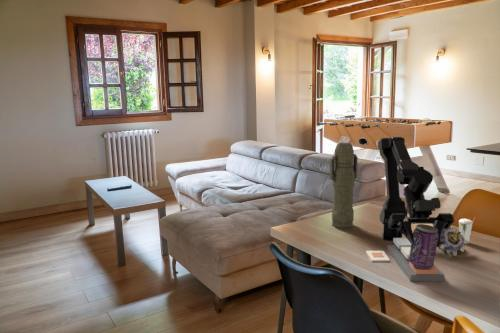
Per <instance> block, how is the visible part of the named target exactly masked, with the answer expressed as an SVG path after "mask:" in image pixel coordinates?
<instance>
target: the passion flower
mask: <svg viewBox="0 0 500 333" xmlns="http://www.w3.org/2000/svg"><path fill="white" fill-rule="evenodd" d="M463 236H464V234H462V233H461V232H459V229H457V226H454V227H451V226H450V227H449V228H447V229H443V230H442V231H441V237H440V244H439V247H437V248H438V249H439V250H442V249H444V252H445V254H446V255H449V254H450V255H451V256H452V257H454V258H455V257H457V255H458V251H460V252H462V253H464V252H465V244H464V243H467V242H468V240H466V239H464V237H463Z"/></svg>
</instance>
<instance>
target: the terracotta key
mask: <svg viewBox="0 0 500 333" xmlns="http://www.w3.org/2000/svg"><path fill="white" fill-rule="evenodd" d="M409 266H410V267H411V268H412V270H413V271H414V272H415V273H416V274H438V272H439V270H440V269H439V268H438V269H439V270H438V269H437V268H436V267H435V266H434V265H433V267H430V268H419V267H416V266H414V265H413V264H412V263H410V262H409Z"/></svg>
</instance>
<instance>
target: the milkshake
mask: <svg viewBox="0 0 500 333" xmlns="http://www.w3.org/2000/svg"><path fill="white" fill-rule="evenodd" d="M475 219H476V217H473V220H471V219H469V218H460V219H459V220H458V232H461V233H462V234H464V236H463V237H464V239H466V240H468V242H467V243H464V245H469V243H470V240H471V239H470V238H471V237H470V236H471V232H472V229H473V224H474V221H475Z"/></svg>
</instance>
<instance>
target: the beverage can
mask: <svg viewBox="0 0 500 333" xmlns="http://www.w3.org/2000/svg"><path fill="white" fill-rule="evenodd" d="M412 232H413V239H414V244H415V246H413V245H412V244H411V249H410V255H409V262H410V263H412V264H413V265H414V266H416V267H419V268H430V267H433V265H434V264H435V258H436V255H437V254H436V252H437V248H438V247H437V242H438V233H437V232H438V229H437V228H435V227H433V225H431V224H416V225H415V228H414V229H413V230H412Z"/></svg>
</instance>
